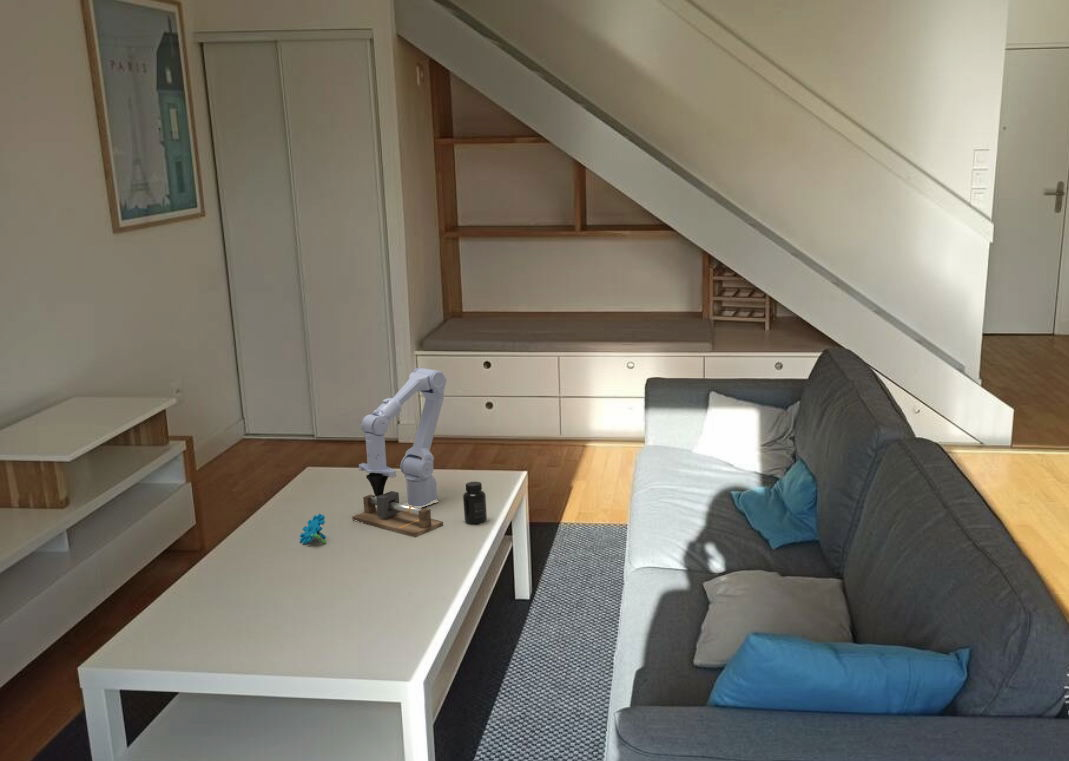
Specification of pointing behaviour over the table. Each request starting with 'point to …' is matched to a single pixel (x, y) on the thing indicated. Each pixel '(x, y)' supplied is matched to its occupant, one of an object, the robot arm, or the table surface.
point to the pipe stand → (398, 518)
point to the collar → (383, 504)
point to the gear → (313, 530)
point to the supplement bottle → (474, 504)
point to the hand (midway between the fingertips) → (379, 496)
